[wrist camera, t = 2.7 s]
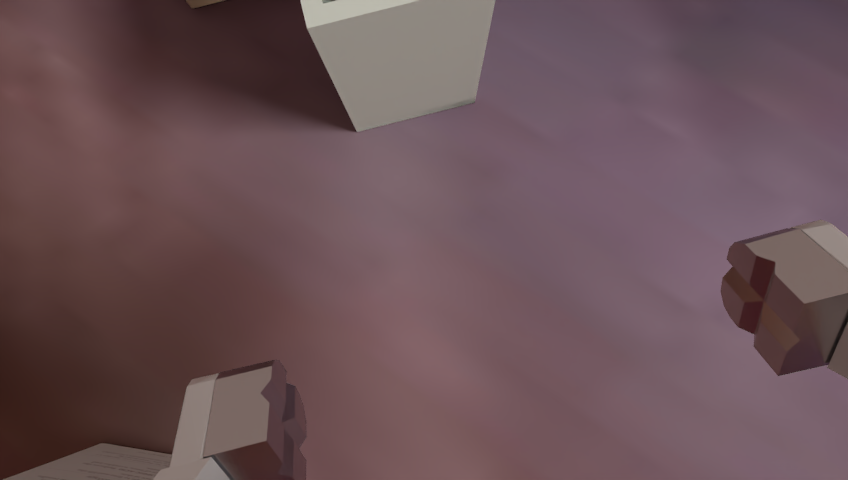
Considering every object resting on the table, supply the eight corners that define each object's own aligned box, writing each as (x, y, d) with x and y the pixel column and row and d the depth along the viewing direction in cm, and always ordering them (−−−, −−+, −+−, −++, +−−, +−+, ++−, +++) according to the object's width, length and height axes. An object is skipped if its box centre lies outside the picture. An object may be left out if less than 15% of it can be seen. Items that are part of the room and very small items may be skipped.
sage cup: (444, -9, 26) (449, -195, 16) (474, 102, 26) (499, -20, 16) (329, 19, 26) (264, -149, 16) (357, 132, 26) (307, 28, 16)
